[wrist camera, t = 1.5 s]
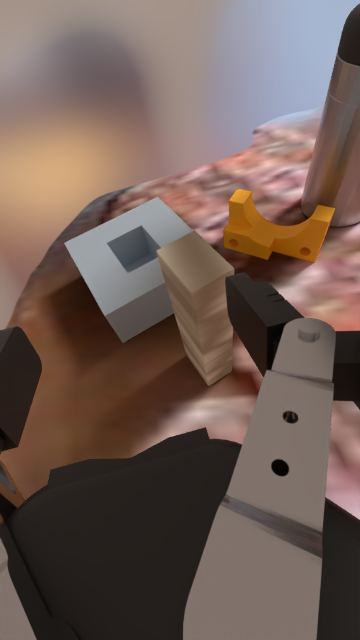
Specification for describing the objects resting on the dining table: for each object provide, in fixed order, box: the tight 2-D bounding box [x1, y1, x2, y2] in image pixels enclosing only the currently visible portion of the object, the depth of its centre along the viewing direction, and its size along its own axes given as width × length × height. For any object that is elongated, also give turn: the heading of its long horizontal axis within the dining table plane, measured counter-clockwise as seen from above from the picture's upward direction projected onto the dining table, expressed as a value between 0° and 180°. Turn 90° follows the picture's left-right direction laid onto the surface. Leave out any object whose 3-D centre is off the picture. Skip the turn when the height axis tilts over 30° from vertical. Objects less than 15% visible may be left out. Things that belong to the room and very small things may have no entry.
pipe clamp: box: [223, 189, 335, 263], centre depth 36 cm, size 12×4×6 cm, turn 59°
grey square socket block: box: [64, 197, 193, 343], centre depth 36 cm, size 14×14×6 cm
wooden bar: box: [156, 231, 234, 386], centre depth 24 cm, size 3×4×16 cm
